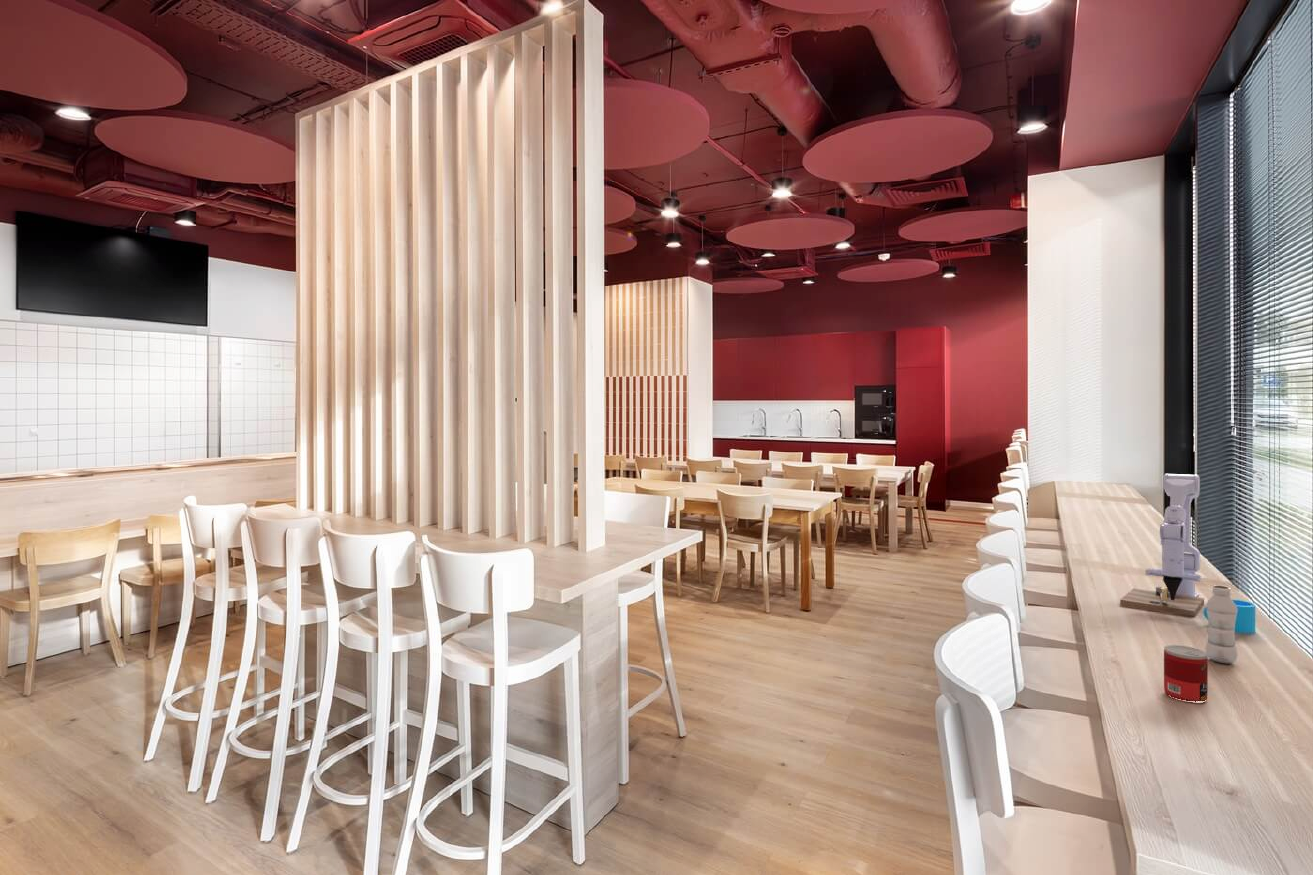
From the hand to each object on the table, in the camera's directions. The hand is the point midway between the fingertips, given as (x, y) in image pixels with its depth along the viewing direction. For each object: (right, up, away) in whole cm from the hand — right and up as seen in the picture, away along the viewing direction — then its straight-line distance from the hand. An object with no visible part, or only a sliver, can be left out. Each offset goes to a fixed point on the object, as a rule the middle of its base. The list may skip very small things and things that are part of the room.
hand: (1172, 599), depth 220 cm
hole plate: (+1, -3, +6) cm, 7 cm away
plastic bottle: (-23, -6, -45) cm, 51 cm away
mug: (+2, -4, -19) cm, 20 cm away
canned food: (-49, -7, -66) cm, 82 cm away
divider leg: (+1, -1, +6) cm, 6 cm away
